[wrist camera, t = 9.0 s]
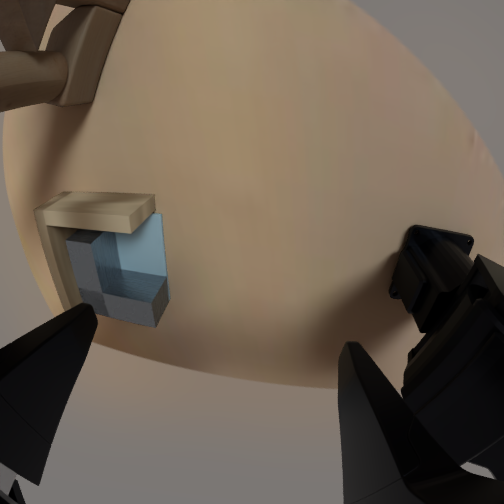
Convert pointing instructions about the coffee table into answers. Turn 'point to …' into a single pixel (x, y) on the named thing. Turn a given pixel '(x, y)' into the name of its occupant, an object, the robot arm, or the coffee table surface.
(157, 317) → the bracket
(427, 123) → the coffee table surface
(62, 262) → the corner walls
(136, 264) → the pad
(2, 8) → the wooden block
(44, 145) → the coffee table surface
